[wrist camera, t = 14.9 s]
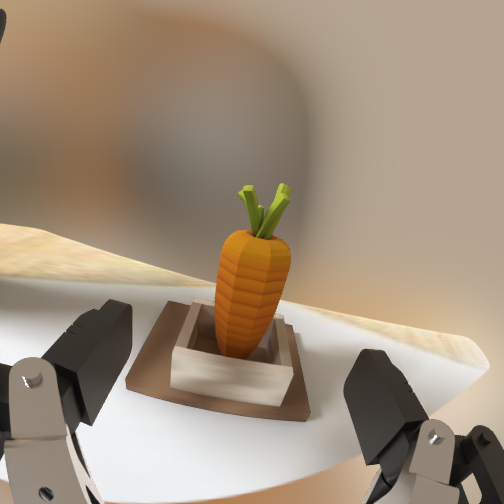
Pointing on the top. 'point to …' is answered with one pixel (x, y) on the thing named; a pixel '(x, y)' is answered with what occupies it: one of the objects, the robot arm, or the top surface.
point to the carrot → (251, 277)
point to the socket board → (219, 367)
